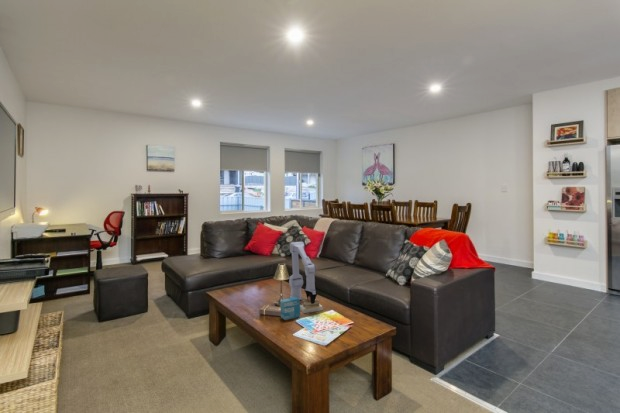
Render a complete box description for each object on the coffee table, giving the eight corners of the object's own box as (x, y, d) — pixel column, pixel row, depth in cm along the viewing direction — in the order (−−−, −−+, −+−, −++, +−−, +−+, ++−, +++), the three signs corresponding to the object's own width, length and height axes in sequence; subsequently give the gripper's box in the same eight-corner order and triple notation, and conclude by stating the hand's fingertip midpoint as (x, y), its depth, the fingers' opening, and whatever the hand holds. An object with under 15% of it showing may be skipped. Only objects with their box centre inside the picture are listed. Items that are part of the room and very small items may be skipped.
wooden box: (303, 305, 218) (302, 299, 218) (316, 303, 222) (316, 297, 221) (305, 308, 213) (305, 302, 213) (319, 306, 216) (319, 300, 216)
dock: (299, 308, 219) (299, 304, 219) (318, 305, 224) (318, 302, 224) (303, 313, 211) (303, 309, 211) (323, 310, 216) (322, 306, 215)
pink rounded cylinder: (307, 300, 218) (307, 296, 218) (312, 299, 220) (312, 295, 220) (309, 302, 215) (309, 297, 215) (314, 301, 216) (314, 297, 216)
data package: (283, 320, 200) (282, 302, 199) (280, 318, 204) (280, 299, 203) (300, 316, 205) (300, 298, 205) (297, 314, 209) (297, 296, 209)
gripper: (301, 280, 222) (302, 299, 223) (308, 285, 208) (308, 306, 209) (311, 279, 224) (311, 297, 225) (318, 284, 211) (318, 304, 211)
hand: (311, 301), depth 217 cm, fingers open, 7 cm apart
